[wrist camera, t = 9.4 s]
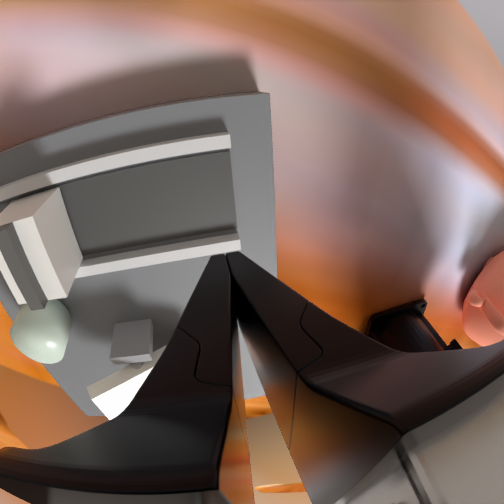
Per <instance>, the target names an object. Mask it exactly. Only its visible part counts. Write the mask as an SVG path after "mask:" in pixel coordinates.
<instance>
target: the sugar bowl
mask: <svg viewBox="0 0 504 504" xmlns="http://www.w3.org/2000/svg"><path fill="white" fill-rule="evenodd" d="M463 304H464V305H463V315H462V319H463V328H464V331H465V333H466V334H467V335H468V336H469V337H470V338H471V339H472V340H474V341H475V342H476V343H478V344H480V345H481V346H488V345H492V344H495V343H498V342H500V341H502V340H503V339H504V251H502V252H500V253H499V254H497V255H496V256H495V257H490V258H489V259H488V260H487V261H486V263H485V265H484V268H483V270H482V271H481V272H480V274H479V275H478V277H477V278H476V280H475V281H474V283H473V285H472V286H471V288H470V290H469V292H468V294H467V296H466V298H465V299H464V302H463Z"/></svg>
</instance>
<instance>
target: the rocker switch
mask: <svg viewBox="0 0 504 504" xmlns="http://www.w3.org/2000/svg"><path fill="white" fill-rule="evenodd" d="M165 347H166V345H165V346H164V347H162V348H160V349H158V350H156V351H154V352H153V361H145V362H137V363H130V365H128V366H126V367H125V368H123V369H121V370H119V371H117V372H115V373H113V374H111V375H109V376H107V377H105V378H103V379H101V380H100V381H98V382H96V383H94V384H92V385H90V386H88V387H87V390H88V392H89V394H90V397H91V399H92V401H93V402H94V403H95V404H96V405H97V406H98V408H99V409H100V410H101V411H102V412H103V413H104V414H105V415H106V416H107V417H108V419H109V420H111V419H113V418H115V417H116V416H118V415H119V414H120V413H121V412H122V411H124V409H125V408H126V407H127V406H128V405H129V403H130V402H131V401H132V399H133V398H134V396H135V395H136V393H137V392H138V390H139V389H140V387H141V385H142V384H143V382H144V381H145V379H146V378H147V376H148V375H149V373H150V372H151V370H152V369H153V367H154V366H155V364H156V362H157V361H158V359H159V358H160V356H161V354H162V353H163V351H164V349H165Z"/></svg>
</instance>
